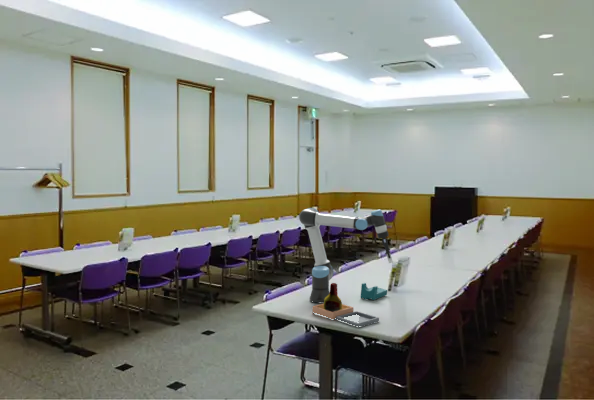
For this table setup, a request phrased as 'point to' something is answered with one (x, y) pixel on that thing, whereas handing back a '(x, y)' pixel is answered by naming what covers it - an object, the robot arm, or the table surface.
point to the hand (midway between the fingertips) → (390, 261)
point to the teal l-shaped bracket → (372, 292)
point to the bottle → (333, 299)
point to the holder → (320, 310)
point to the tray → (363, 318)
